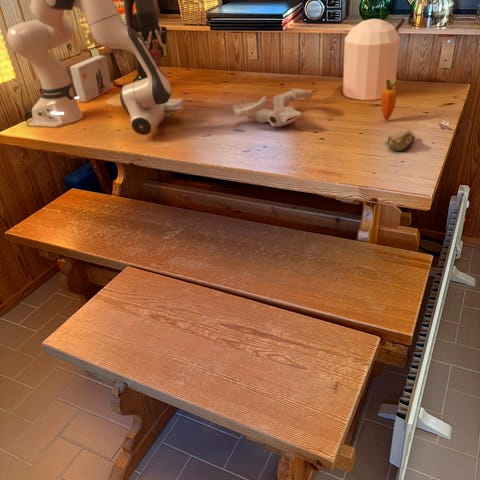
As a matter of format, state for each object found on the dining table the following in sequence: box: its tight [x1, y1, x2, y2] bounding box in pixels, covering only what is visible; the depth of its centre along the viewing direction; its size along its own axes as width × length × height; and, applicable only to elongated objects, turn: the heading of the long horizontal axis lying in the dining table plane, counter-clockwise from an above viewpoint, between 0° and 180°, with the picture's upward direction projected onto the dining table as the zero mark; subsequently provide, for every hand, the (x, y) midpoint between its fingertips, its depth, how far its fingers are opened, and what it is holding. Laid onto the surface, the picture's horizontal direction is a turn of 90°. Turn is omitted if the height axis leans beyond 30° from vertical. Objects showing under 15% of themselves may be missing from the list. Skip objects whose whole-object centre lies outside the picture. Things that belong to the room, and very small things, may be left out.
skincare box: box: [69, 54, 113, 103], centre depth 218 cm, size 21×6×16 cm, turn 158°
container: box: [342, 18, 401, 101], centre depth 185 cm, size 21×21×28 cm
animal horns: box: [231, 88, 314, 128], centre depth 171 cm, size 28×26×12 cm
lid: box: [149, 48, 161, 58], centre depth 176 cm, size 6×6×2 cm
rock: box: [387, 129, 416, 152], centre depth 146 cm, size 11×6×10 cm
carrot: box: [380, 78, 398, 122], centre depth 161 cm, size 5×5×15 cm
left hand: (163, 99), depth 188 cm, fingers closed on jar, 5 cm apart
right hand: (155, 58), depth 178 cm, fingers closed on lid, 5 cm apart
